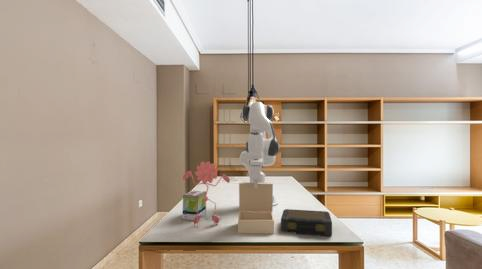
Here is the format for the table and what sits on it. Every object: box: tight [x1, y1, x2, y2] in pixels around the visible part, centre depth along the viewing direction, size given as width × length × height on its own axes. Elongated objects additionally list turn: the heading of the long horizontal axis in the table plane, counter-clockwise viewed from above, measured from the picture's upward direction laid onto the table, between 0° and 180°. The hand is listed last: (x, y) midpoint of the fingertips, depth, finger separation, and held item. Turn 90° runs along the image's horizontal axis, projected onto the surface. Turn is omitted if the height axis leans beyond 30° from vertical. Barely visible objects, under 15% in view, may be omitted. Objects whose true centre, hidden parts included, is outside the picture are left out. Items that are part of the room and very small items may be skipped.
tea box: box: [182, 190, 207, 221], centre depth 172 cm, size 15×10×15 cm, turn 168°
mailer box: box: [237, 211, 275, 234], centre depth 149 cm, size 18×16×7 cm
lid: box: [238, 182, 274, 213], centre depth 155 cm, size 18×17×2 cm
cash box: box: [280, 208, 333, 237], centre depth 150 cm, size 25×20×8 cm
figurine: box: [182, 161, 231, 228], centre depth 158 cm, size 15×26×35 cm, turn 95°
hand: (255, 187), depth 152 cm, fingers closed
